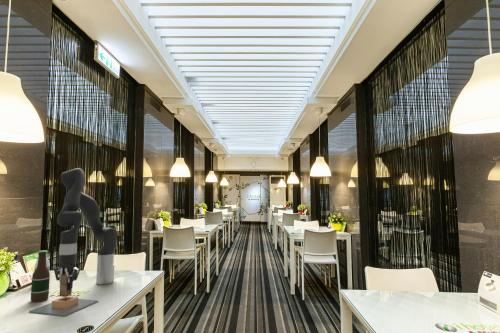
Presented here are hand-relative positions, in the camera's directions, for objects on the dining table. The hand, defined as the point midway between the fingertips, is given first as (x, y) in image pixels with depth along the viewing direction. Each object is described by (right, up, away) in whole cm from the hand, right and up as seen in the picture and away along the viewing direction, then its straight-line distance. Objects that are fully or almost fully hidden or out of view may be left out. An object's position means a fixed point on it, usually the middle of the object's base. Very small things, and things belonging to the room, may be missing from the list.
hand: (65, 289), depth 148 cm
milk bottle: (-37, -12, +37) cm, 53 cm away
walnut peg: (0, -3, 0) cm, 3 cm away
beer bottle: (-19, -9, +9) cm, 23 cm away
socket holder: (0, -8, -1) cm, 8 cm away
